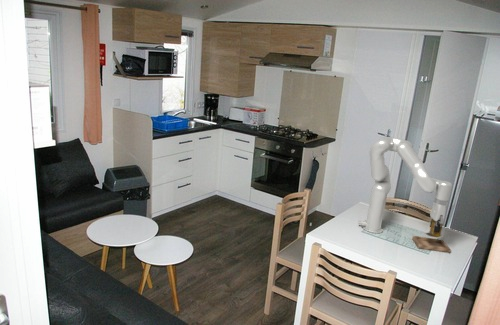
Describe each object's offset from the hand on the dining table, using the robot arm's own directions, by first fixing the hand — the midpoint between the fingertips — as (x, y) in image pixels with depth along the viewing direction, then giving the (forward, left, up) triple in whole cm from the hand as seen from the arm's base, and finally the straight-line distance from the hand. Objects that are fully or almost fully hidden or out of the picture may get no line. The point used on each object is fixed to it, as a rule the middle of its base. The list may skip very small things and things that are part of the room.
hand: (434, 229), depth 235 cm
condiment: (0, 0, -4) cm, 4 cm away
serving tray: (0, 0, -11) cm, 11 cm away
